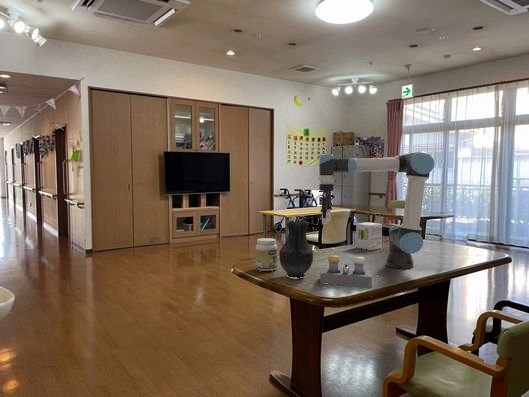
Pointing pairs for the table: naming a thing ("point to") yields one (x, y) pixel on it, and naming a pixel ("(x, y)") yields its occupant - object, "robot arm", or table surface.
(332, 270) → the knob
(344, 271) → the potentiometer
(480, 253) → the table surface
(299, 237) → the pitcher
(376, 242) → the white canister
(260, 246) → the supplement tub
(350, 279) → the mount
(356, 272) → the knob
